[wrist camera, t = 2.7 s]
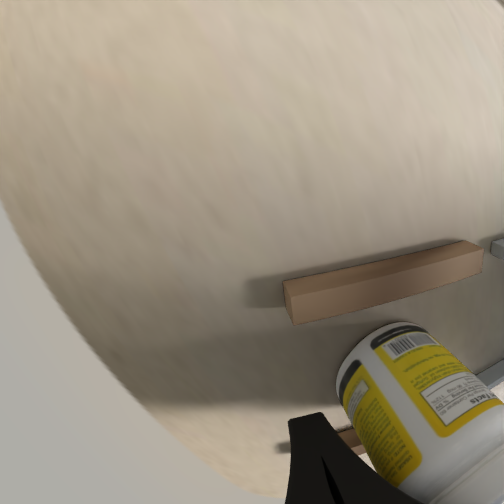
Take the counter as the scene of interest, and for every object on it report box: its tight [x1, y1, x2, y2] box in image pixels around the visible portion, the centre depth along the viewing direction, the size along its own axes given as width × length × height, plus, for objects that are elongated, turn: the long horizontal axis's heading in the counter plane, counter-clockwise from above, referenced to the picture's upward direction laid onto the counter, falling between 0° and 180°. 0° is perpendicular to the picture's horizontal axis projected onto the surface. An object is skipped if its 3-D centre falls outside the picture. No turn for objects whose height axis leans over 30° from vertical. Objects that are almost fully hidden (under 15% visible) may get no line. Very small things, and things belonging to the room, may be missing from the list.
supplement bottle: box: [336, 322, 504, 504], centre depth 8 cm, size 5×5×8 cm
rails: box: [283, 241, 484, 455], centre depth 11 cm, size 8×10×1 cm
